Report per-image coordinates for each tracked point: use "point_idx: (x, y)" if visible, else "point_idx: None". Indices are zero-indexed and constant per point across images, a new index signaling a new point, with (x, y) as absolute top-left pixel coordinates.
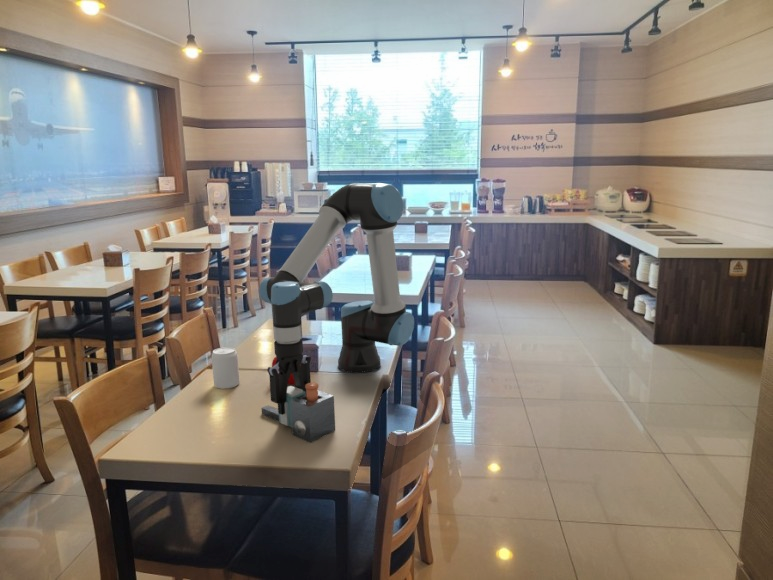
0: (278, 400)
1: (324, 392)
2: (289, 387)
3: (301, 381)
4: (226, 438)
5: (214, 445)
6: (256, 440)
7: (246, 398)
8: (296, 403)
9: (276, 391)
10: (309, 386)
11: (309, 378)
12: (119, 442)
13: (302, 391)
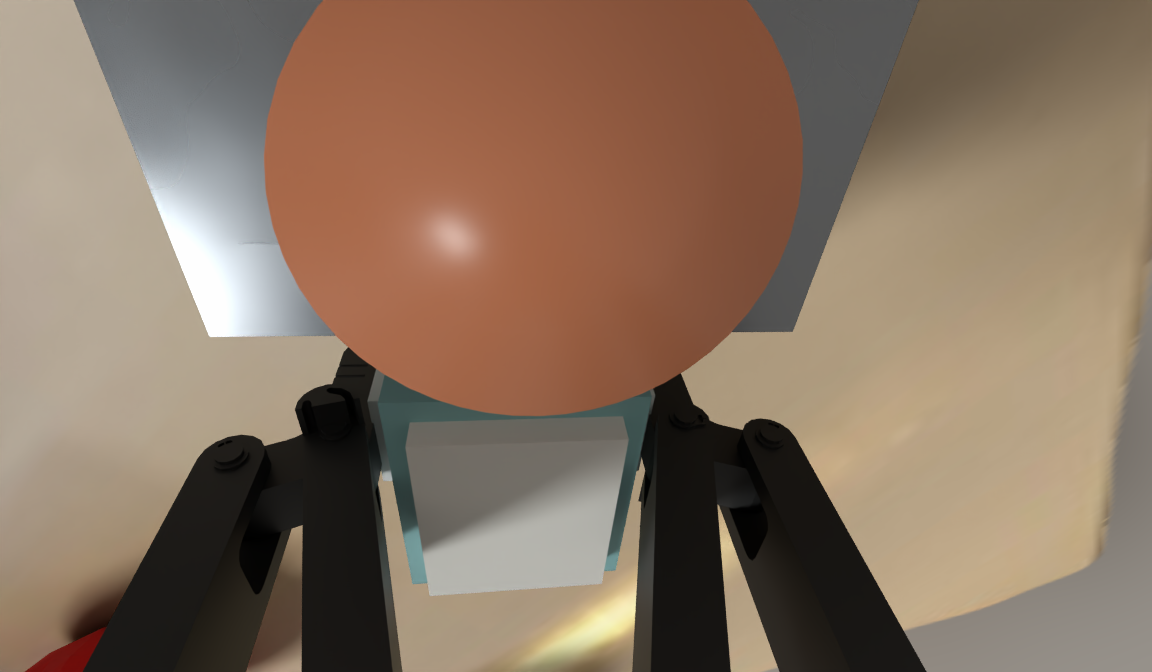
0: (777, 446)
1: (107, 76)
2: (475, 576)
3: (348, 593)
4: (852, 420)
5: (938, 406)
6: (824, 290)
7: (456, 629)
8: (827, 195)
9: (855, 560)
10: (707, 200)
11: (144, 603)
12: (977, 609)
13: (417, 430)
